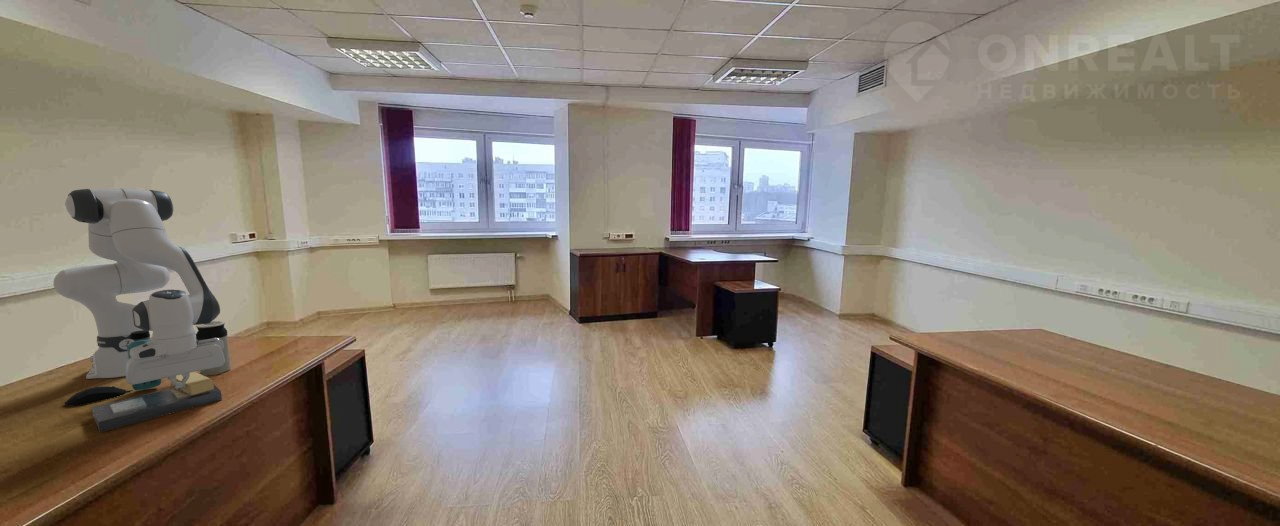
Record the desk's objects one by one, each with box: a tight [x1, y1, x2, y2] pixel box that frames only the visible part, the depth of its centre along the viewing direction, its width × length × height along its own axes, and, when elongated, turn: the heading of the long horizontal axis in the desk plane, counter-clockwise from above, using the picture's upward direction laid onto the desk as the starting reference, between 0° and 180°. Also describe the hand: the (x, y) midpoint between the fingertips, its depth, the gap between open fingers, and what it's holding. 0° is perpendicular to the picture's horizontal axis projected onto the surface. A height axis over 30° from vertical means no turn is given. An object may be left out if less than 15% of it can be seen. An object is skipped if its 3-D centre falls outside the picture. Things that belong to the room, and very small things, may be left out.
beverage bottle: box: [127, 330, 162, 391], centre depth 138 cm, size 6×7×20 cm
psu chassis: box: [91, 383, 223, 433], centre depth 129 cm, size 17×24×4 cm
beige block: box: [170, 371, 215, 395], centre depth 134 cm, size 18×5×3 cm, turn 64°
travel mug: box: [195, 320, 232, 376], centre depth 154 cm, size 8×8×18 cm
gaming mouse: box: [64, 385, 134, 407], centre depth 134 cm, size 6×15×4 cm, turn 144°
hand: (180, 388), depth 129 cm, fingers closed
